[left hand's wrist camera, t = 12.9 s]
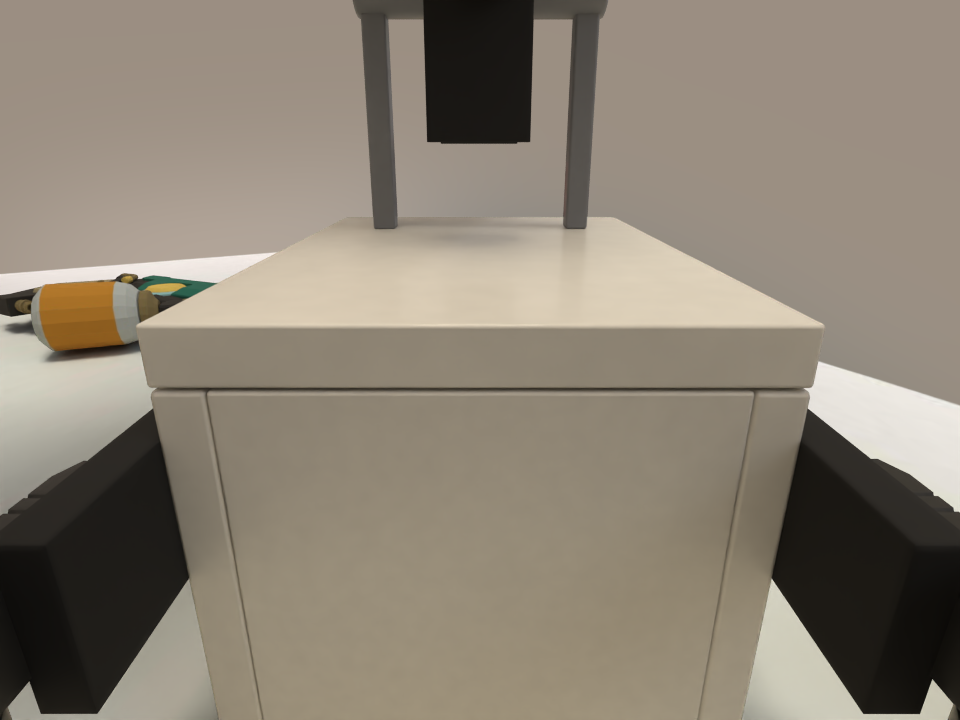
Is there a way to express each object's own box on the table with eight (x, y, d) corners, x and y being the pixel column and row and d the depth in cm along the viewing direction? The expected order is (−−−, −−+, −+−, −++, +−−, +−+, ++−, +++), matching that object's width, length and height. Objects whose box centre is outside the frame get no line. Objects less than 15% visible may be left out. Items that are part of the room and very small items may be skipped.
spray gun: (0, 326, 45) (205, 301, 54) (17, 372, 33) (276, 329, 42) (-13, 270, 44) (198, 255, 53) (-2, 297, 32) (269, 271, 41)
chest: (359, 458, 25) (342, 249, 22) (600, 459, 25) (617, 249, 22) (231, 789, 12) (147, 392, 9) (728, 789, 12) (813, 392, 9)
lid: (347, 244, 22) (327, -23, 19) (612, 244, 22) (633, -24, 19) (146, 389, 9) (-27, -422, 6) (814, 389, 9) (986, -419, 6)
